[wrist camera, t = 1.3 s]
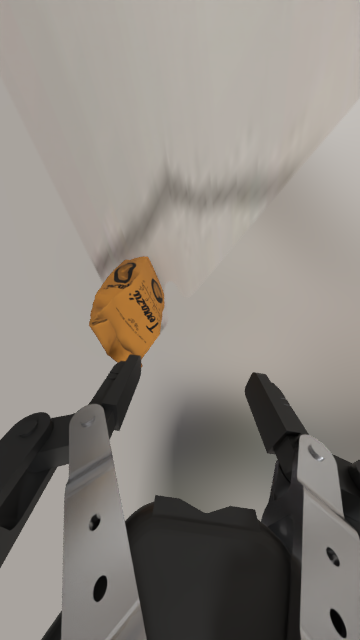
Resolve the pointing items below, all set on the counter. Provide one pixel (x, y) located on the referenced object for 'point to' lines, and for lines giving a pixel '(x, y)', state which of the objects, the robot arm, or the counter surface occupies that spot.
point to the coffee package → (128, 310)
